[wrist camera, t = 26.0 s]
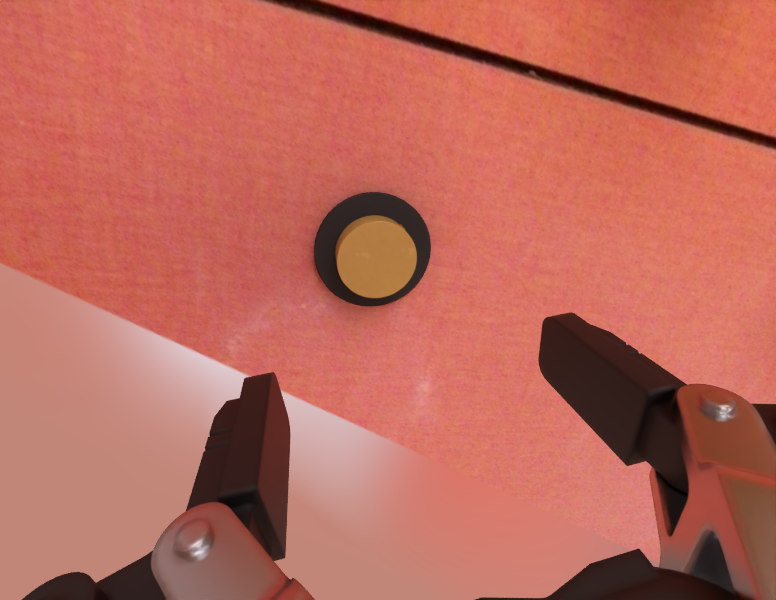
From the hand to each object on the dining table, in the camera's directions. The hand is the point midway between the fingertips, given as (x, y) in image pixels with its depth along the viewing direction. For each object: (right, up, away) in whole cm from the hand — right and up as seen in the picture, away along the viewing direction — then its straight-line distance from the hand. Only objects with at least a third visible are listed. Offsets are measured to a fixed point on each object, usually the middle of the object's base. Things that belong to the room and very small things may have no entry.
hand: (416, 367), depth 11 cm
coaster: (-2, +6, +18) cm, 19 cm away
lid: (-2, +5, +16) cm, 17 cm away
